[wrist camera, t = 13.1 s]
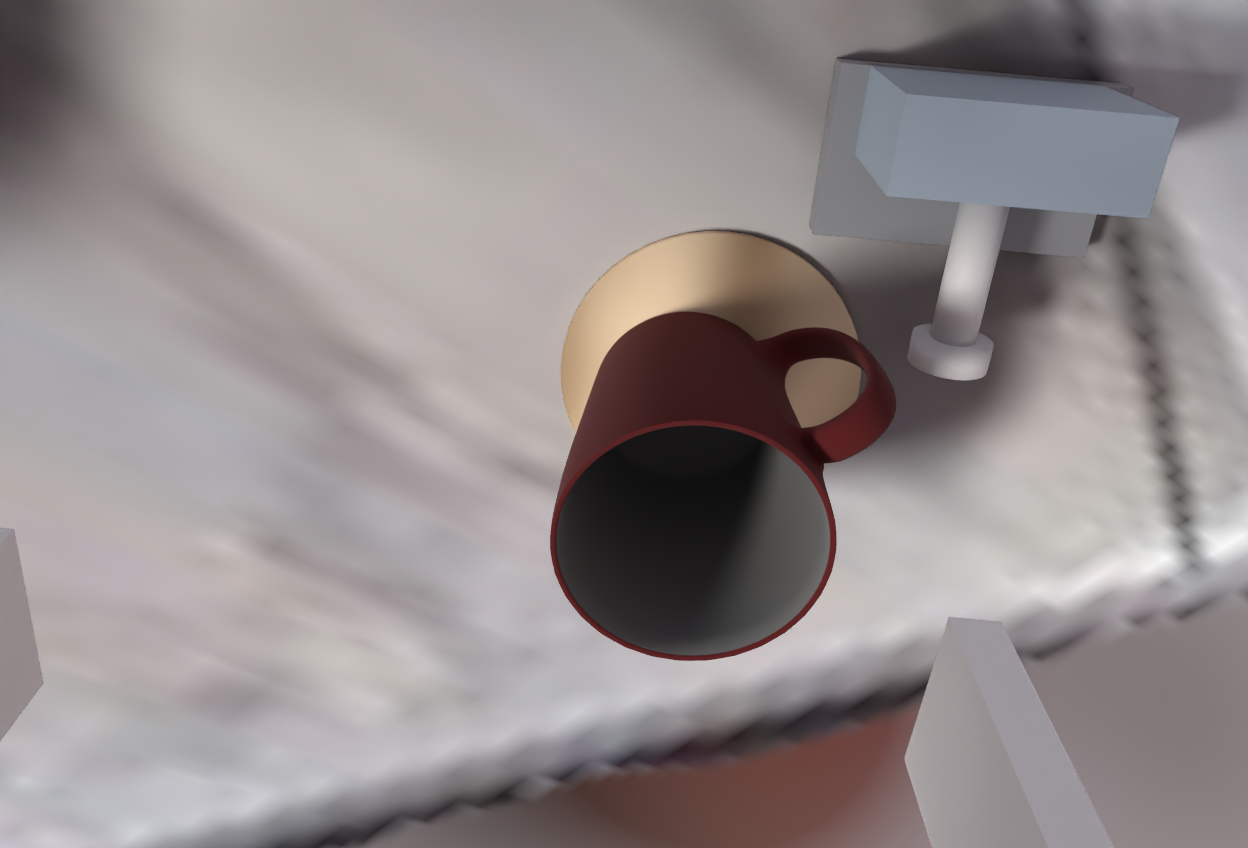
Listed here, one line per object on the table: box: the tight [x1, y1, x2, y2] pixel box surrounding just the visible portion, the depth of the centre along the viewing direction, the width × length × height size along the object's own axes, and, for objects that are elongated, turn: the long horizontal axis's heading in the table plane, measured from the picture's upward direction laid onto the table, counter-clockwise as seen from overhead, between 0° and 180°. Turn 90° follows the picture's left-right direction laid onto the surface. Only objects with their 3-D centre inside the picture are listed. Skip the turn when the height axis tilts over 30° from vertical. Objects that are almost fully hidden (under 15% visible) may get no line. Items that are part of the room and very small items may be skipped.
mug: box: [550, 312, 896, 661], centre depth 37 cm, size 12×9×11 cm
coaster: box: [561, 231, 861, 432], centre depth 42 cm, size 12×12×1 cm
